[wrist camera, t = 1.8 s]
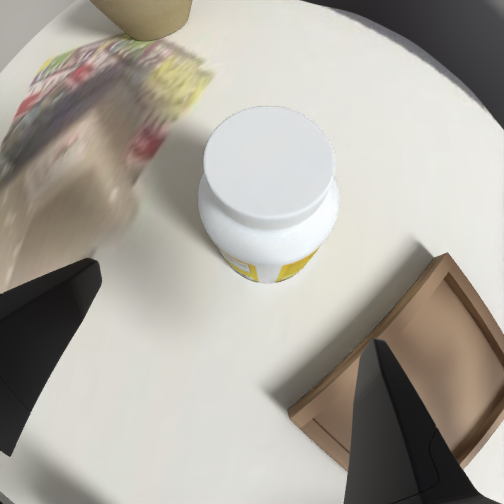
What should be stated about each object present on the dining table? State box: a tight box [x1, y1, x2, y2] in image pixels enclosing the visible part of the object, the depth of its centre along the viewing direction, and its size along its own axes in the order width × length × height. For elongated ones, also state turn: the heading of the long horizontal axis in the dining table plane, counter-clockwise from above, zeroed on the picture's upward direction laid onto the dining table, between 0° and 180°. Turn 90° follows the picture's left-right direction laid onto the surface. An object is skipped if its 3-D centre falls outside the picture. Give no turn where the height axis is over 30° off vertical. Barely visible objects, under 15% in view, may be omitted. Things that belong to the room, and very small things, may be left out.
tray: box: [288, 252, 504, 471], centre depth 17 cm, size 16×16×2 cm
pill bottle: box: [198, 106, 339, 283], centre depth 16 cm, size 6×6×12 cm
